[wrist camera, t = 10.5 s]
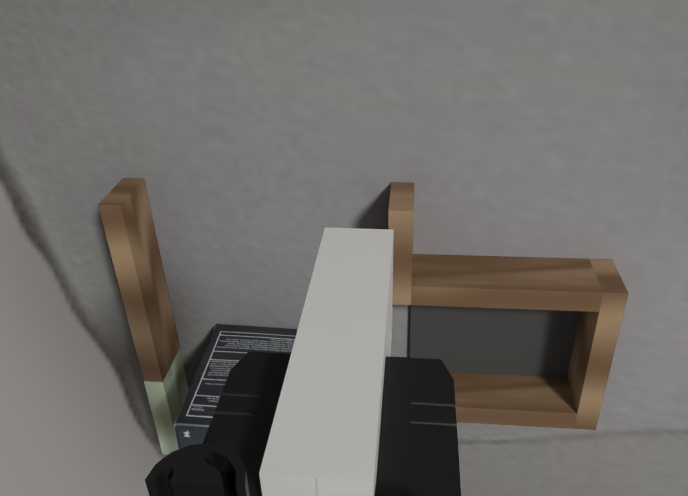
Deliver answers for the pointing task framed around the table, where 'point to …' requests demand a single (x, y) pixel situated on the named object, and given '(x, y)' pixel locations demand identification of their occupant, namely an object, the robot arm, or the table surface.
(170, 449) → the wooden frame pieces
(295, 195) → the table surface
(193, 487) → the robot arm
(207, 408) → the small box
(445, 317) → the mat
